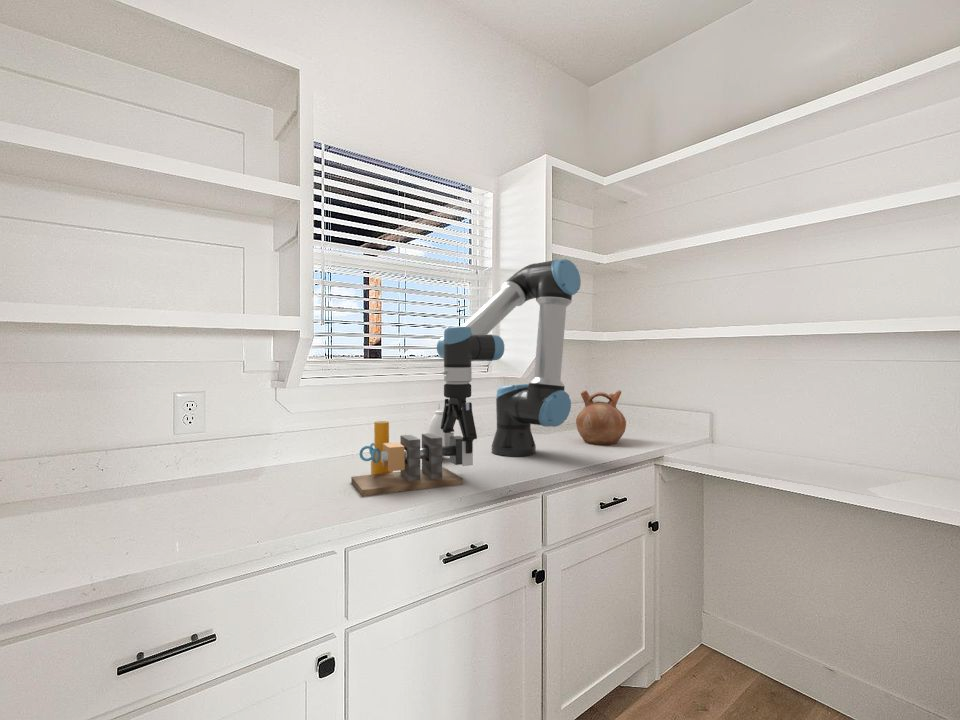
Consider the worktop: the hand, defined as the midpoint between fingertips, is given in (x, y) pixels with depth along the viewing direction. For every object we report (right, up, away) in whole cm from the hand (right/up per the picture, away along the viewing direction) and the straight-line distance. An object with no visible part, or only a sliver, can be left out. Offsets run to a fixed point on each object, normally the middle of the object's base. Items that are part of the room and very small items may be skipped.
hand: (457, 460), depth 138 cm
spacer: (-16, 0, -8) cm, 18 cm away
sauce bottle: (-7, -4, +25) cm, 26 cm away
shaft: (-9, -1, -4) cm, 10 cm away
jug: (+52, -4, +53) cm, 75 cm away
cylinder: (-21, -5, +2) cm, 22 cm away
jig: (-13, -5, -6) cm, 15 cm away
